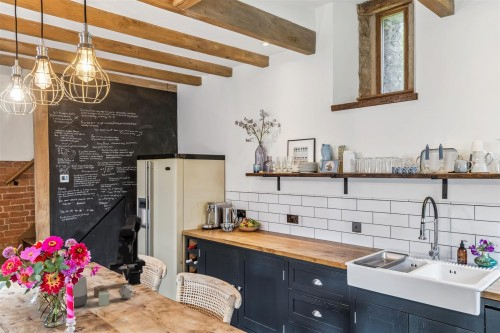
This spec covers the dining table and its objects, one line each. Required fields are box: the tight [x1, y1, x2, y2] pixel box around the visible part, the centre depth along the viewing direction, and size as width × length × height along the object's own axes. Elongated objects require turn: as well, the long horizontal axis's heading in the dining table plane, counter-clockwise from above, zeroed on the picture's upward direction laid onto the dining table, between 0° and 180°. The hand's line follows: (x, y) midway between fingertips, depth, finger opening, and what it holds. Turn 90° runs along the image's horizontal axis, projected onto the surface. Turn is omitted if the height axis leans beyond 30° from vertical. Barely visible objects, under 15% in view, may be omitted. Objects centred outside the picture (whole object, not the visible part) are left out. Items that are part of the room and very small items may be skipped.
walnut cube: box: [93, 284, 108, 299], centre depth 211 cm, size 5×5×5 cm
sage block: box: [98, 290, 110, 307], centre depth 199 cm, size 5×5×6 cm
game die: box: [118, 283, 135, 301], centre depth 207 cm, size 9×8×10 cm
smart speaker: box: [73, 275, 88, 308], centre depth 196 cm, size 10×9×14 cm
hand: (126, 280), depth 207 cm, fingers closed
